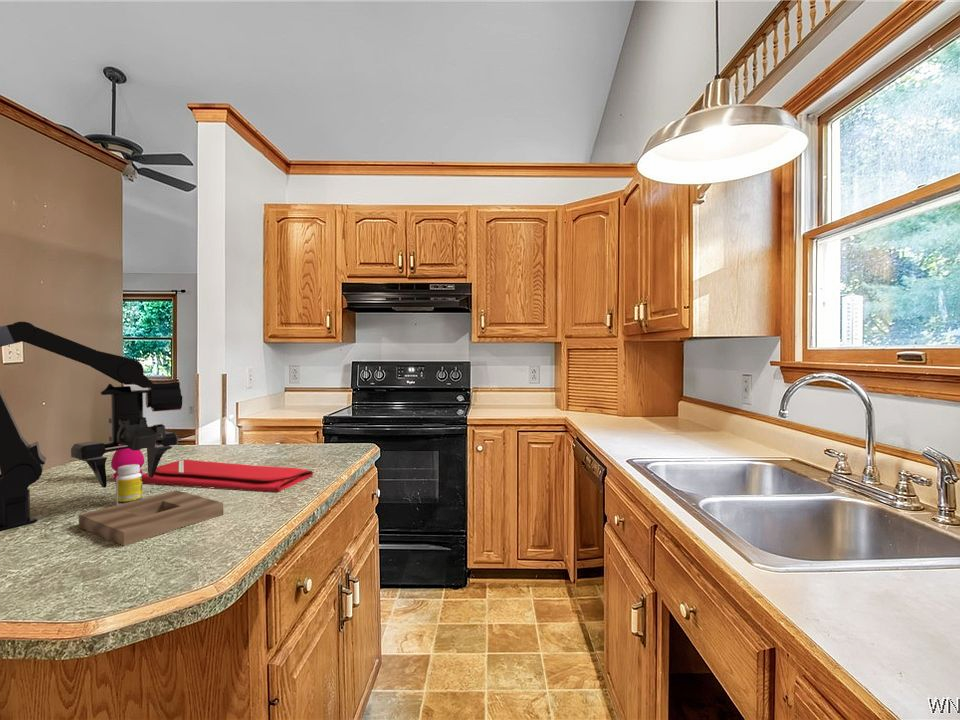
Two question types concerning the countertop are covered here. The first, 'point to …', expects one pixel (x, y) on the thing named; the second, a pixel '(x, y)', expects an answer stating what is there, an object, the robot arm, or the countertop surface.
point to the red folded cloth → (227, 475)
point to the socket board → (149, 516)
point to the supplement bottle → (128, 484)
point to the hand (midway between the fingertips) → (128, 482)
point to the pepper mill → (126, 459)
